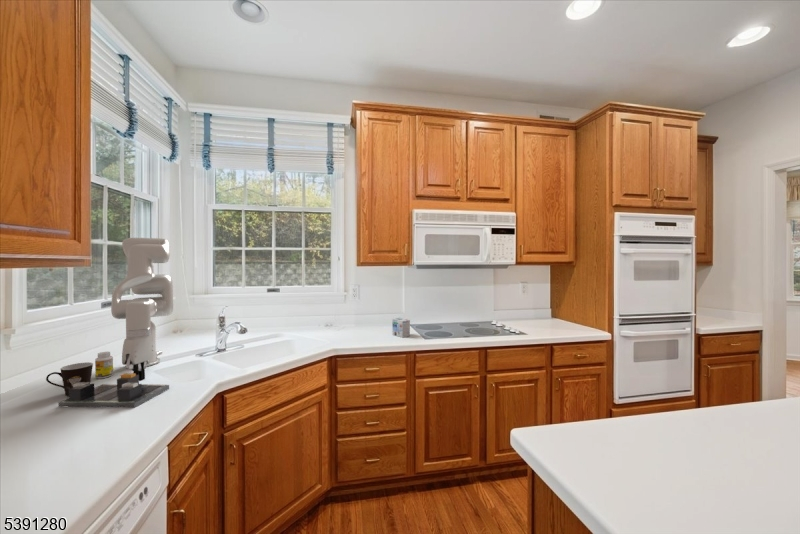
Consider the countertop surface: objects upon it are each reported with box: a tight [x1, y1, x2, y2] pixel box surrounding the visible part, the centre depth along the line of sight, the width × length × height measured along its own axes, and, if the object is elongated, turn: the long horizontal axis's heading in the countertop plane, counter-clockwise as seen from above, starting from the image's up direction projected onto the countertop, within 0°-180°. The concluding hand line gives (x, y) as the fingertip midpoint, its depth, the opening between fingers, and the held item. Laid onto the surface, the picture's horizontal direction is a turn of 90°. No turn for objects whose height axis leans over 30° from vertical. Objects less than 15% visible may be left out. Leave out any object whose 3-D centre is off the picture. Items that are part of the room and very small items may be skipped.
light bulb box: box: [391, 317, 411, 339], centre depth 215 cm, size 11×7×11 cm, turn 41°
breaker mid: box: [116, 372, 140, 390], centre depth 122 cm, size 5×4×5 cm
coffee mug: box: [45, 361, 94, 397], centre depth 121 cm, size 12×9×10 cm
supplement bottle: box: [94, 351, 114, 380], centre depth 138 cm, size 6×6×10 cm
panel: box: [57, 382, 170, 408], centre depth 118 cm, size 16×26×7 cm, turn 89°
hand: (139, 380), depth 127 cm, fingers closed
